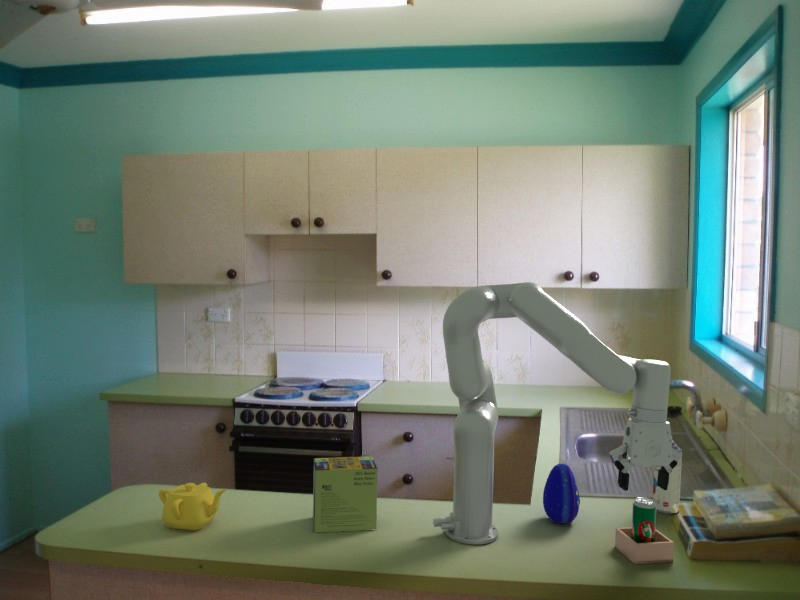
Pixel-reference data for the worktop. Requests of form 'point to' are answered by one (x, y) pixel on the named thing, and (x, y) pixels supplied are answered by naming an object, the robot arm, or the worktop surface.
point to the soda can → (643, 520)
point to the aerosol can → (672, 494)
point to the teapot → (189, 506)
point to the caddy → (644, 547)
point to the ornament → (561, 495)
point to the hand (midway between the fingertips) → (642, 488)
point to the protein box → (344, 494)
